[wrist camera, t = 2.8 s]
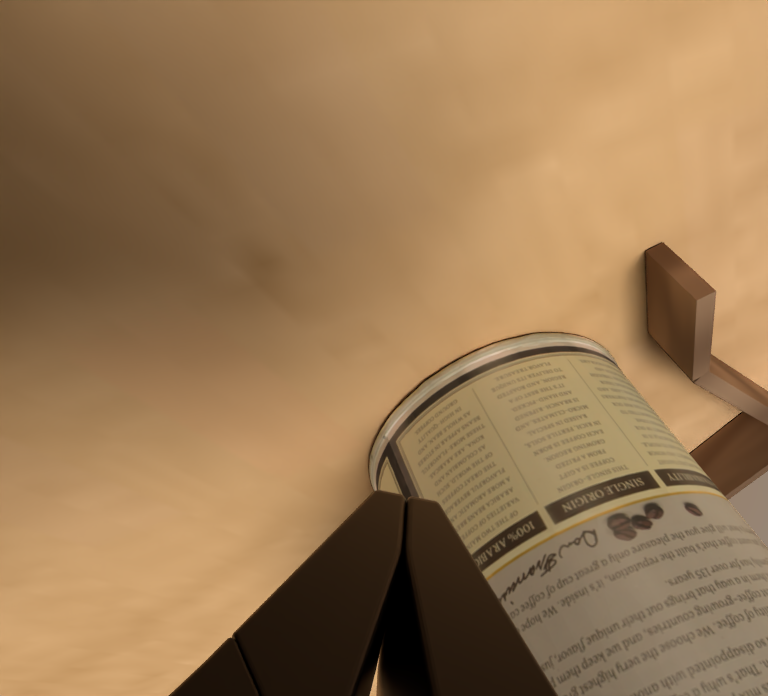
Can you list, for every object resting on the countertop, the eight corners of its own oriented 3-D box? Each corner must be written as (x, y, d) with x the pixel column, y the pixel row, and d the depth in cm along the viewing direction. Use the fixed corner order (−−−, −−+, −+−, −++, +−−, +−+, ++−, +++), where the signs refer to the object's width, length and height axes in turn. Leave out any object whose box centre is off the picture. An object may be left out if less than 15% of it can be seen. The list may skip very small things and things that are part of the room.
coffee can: (647, 410, 27) (955, 793, 17) (448, 538, 29) (624, 941, 19) (567, 274, 20) (1020, 802, 10) (309, 456, 22) (480, 1037, 12)
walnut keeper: (330, 559, 27) (347, 616, 25) (658, 238, 20) (711, 287, 18) (535, 580, 36) (557, 623, 34) (812, 364, 29) (857, 405, 27)
